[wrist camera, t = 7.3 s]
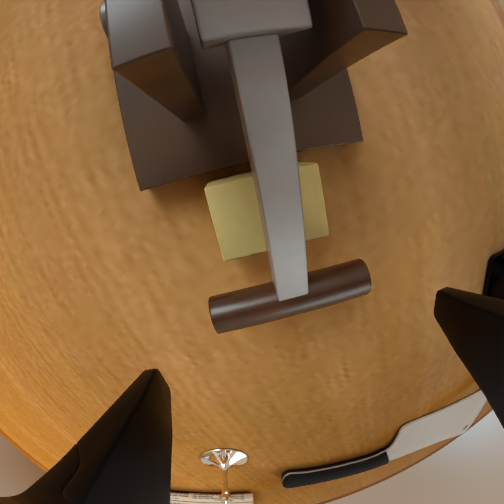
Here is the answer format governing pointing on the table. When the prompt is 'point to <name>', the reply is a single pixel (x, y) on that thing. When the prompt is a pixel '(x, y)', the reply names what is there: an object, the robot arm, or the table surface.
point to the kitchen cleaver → (399, 442)
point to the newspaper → (208, 498)
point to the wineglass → (224, 466)
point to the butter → (248, 216)
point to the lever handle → (271, 163)
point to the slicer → (231, 82)
